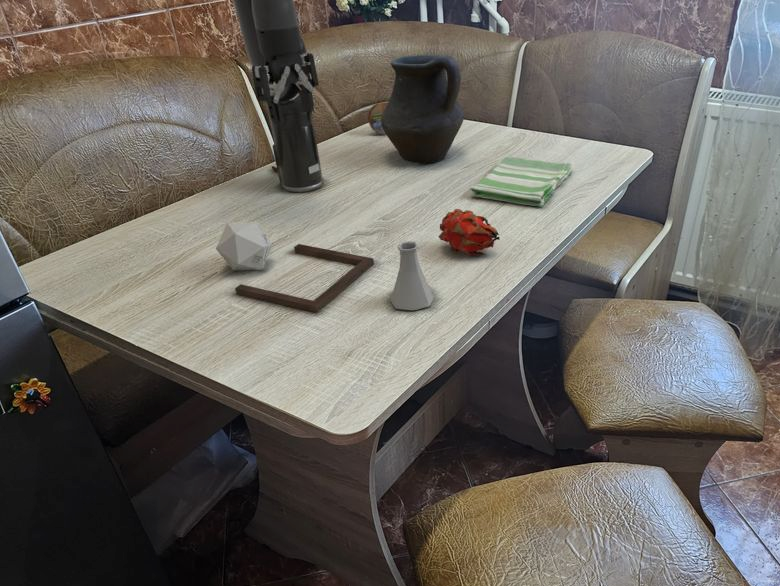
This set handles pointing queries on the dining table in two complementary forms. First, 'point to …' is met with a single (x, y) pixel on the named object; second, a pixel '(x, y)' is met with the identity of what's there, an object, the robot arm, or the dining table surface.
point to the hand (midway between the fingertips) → (293, 117)
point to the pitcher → (423, 107)
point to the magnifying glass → (377, 117)
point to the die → (244, 246)
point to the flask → (410, 281)
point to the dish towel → (522, 181)
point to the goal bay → (324, 298)
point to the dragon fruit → (467, 232)
